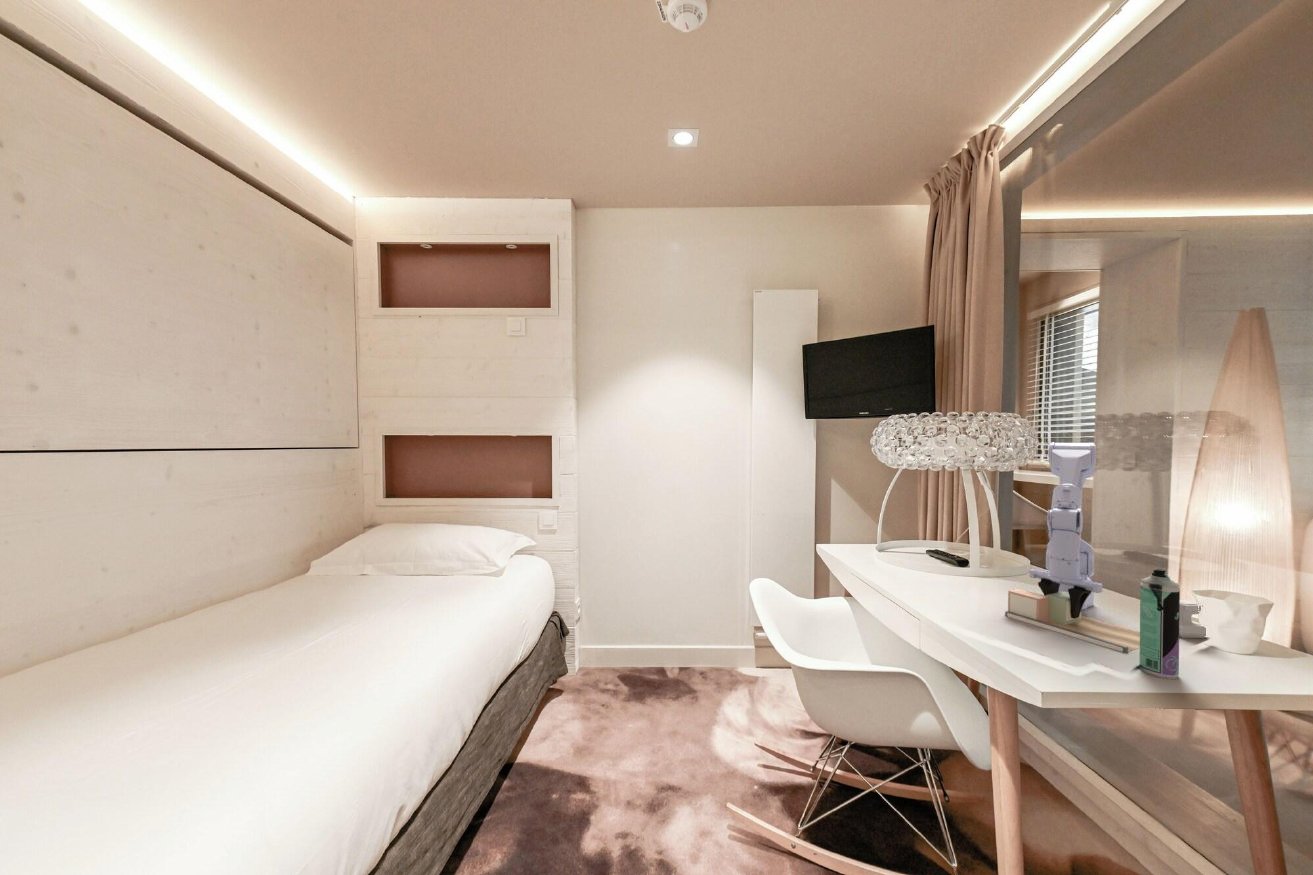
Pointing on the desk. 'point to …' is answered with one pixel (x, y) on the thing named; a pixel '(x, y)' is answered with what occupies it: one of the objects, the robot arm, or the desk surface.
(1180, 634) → the stamp
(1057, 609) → the sage carton
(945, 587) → the desk surface
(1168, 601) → the spray can
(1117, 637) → the shelf board
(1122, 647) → the rail
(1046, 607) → the clay carton
